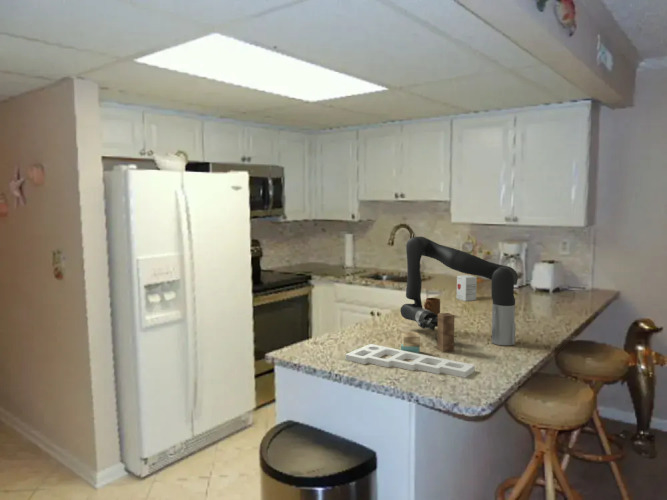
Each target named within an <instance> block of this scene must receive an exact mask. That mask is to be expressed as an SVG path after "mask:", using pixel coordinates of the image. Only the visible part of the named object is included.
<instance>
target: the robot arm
mask: <svg viewBox="0 0 667 500" xmlns="http://www.w3.org/2000/svg"><path fill="white" fill-rule="evenodd" d="M405 245H406V248H405V249H406V263H407V265H406V266H407V268H406V269H407V270H406V271H407V272H406V273H407V278H406V287H405V288H406V290H405V297H406V298H407V299H409V300H412V301H413V302H414V303H405V304H402V305H401V307H400V314H401V316H402V317H403V318H404V319H405V320H408V321H413V322H416V323H417V324H418V327H420V328H421V329H424V330H425V329H427V330H431V331H435V330H436V328H437V327H438V316H437V315H436V314H435V313H433V312H431V311H429V310H426V309H425V308H423V303H422V285H423V283H422V281H423V280H422V275H421V267H420V266H421V259H422V256H423V257H427V258H429V259H430V258H431V259H435V260H437V261H438V262H440V263H441V264H443V266H446V267H447V268H449V269H451V270H454V271H456V272H460V273H462V274H466V275H470V276H476V277H482V278H486V279H488V280H490V281H491V298H492V309H491V310H492V316H491V336H490V337H491V343H492V344H495V345H498V346H512V345H513V346H515V345H516V322H515V318H516V317H515V315H516V314H515V313H516V298H515V295H514V293H515V291H514V290H515V284H517V283H518V280H519V275H518V273H517V271H516V270H515V269H514V268H513V267H511V266H507V265H503V264H499V263H495V262H491V261H488V260H485V259H483V258H481V257H479V256H476V255H474V254H471V253H469V252H466V251H464V250H461V249H460V250H459V249H457V248H453V247H450V246H445V245H442V244H440V243H437V242H435V241H433V240H431V239H429V238H426V237H425V236H413V237H410V238H409V239H408V240H407V242H406V244H405Z"/></svg>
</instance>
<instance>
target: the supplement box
mask: <svg viewBox="0 0 667 500" xmlns="http://www.w3.org/2000/svg"><path fill="white" fill-rule="evenodd" d="M477 277H478V276H476V275H471V274H466V275H465V274H464V275H457V276H456V300H460V301H463V302H468V301H469V302H470V301H476V300H477V283H478V278H477Z"/></svg>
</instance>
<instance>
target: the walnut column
mask: <svg viewBox="0 0 667 500" xmlns="http://www.w3.org/2000/svg"><path fill="white" fill-rule="evenodd" d="M455 318H456V317H455V315H454V314H452V313H450V312H444V313H443V312H442V313H441V312H440V313H438V327H436V328H437V334H436V335H437V336H436V343H437V344H436V349H437V350H438V351H440V352H441V353H449V352H450V353H451V352H454V351H455Z"/></svg>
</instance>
